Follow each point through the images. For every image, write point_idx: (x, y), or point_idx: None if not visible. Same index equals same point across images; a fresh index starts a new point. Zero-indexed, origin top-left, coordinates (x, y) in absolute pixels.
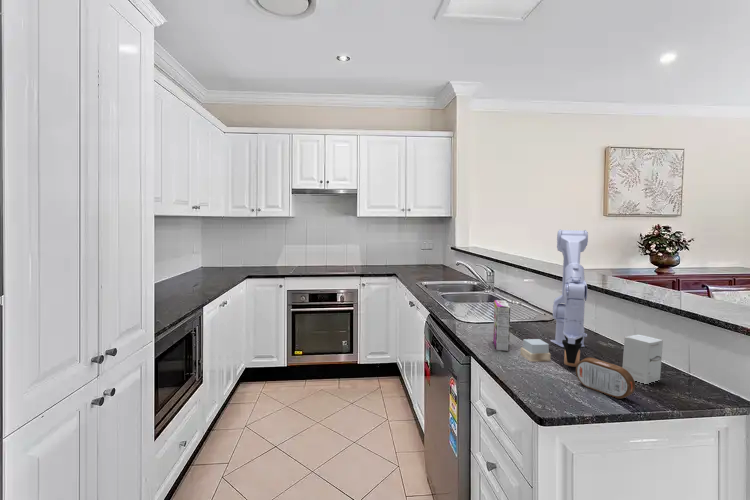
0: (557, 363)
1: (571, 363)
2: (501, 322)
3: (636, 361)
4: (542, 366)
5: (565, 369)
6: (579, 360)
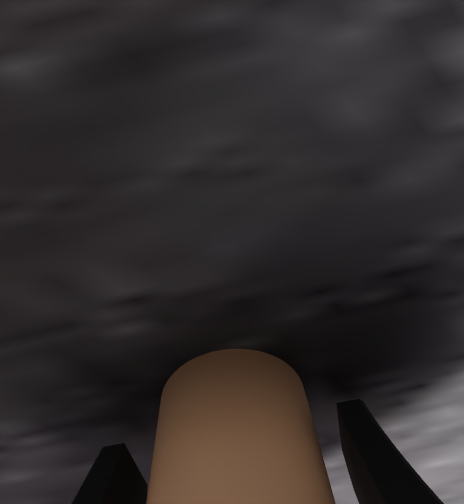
0: None
1: (310, 413)
2: None
3: None
4: (458, 500)
5: (437, 393)
6: (218, 397)
